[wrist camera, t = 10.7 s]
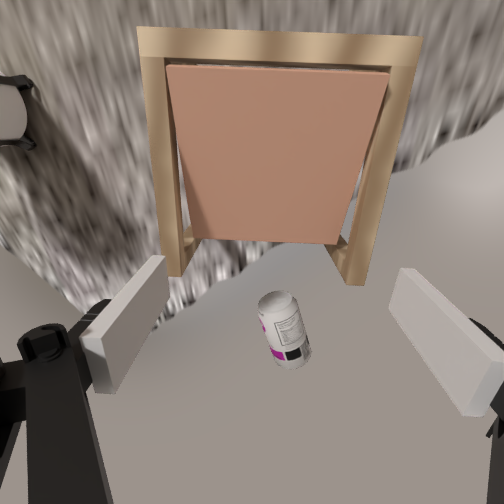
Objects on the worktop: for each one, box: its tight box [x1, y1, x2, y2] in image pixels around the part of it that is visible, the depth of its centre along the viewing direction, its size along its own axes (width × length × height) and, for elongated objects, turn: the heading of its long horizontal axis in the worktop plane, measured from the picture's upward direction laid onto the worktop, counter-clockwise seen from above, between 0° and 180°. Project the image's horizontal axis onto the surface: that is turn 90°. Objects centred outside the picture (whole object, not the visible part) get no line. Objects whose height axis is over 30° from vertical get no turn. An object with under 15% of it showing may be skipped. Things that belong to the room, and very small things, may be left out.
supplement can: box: [257, 291, 311, 369], centre depth 56 cm, size 8×8×15 cm
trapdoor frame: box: [137, 26, 424, 286], centre depth 36 cm, size 23×23×22 cm
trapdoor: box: [166, 65, 390, 245], centre depth 29 cm, size 18×18×2 cm
